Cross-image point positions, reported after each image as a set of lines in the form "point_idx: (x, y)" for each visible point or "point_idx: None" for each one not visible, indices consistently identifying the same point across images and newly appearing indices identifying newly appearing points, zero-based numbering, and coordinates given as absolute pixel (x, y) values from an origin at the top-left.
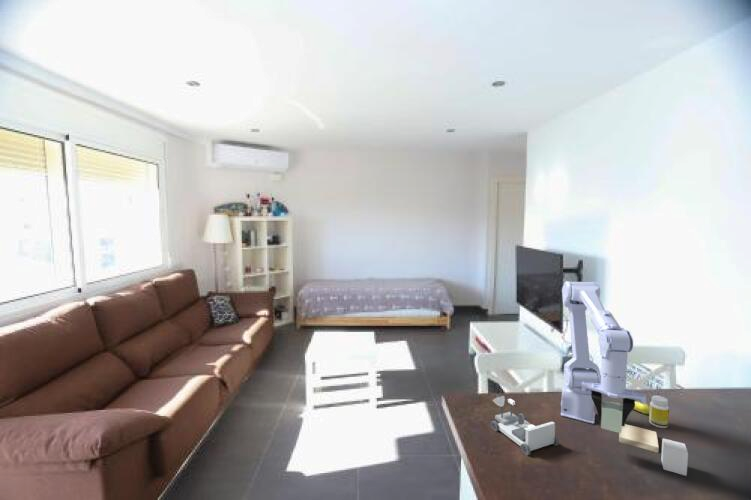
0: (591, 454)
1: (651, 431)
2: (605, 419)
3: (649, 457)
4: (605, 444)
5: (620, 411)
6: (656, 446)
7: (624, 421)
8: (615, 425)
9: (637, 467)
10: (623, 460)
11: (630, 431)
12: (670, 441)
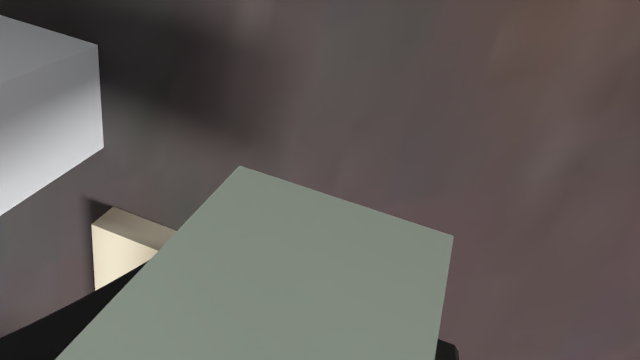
0: (547, 88)
1: None
2: (378, 317)
3: (156, 151)
4: None
5: None
6: (100, 232)
7: (129, 280)
8: (266, 232)
9: (236, 10)
10: (312, 73)
11: None
12: None
